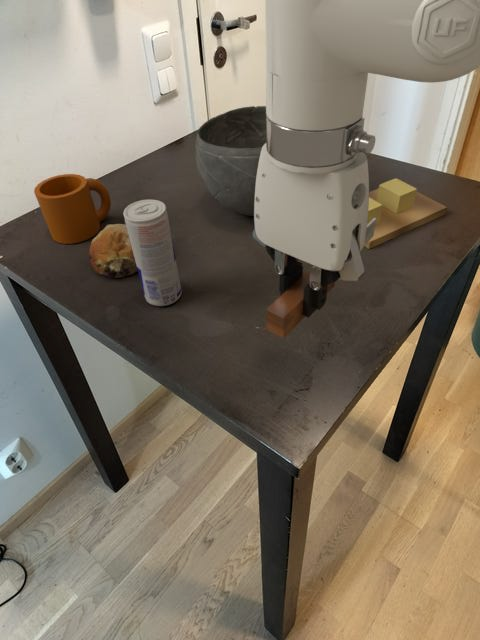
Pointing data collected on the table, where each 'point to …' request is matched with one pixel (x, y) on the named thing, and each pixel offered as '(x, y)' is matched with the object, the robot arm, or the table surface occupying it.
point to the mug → (72, 207)
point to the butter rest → (396, 195)
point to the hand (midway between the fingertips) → (301, 303)
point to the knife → (296, 300)
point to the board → (404, 218)
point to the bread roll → (113, 252)
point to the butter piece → (374, 211)
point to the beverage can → (153, 251)
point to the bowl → (232, 156)
